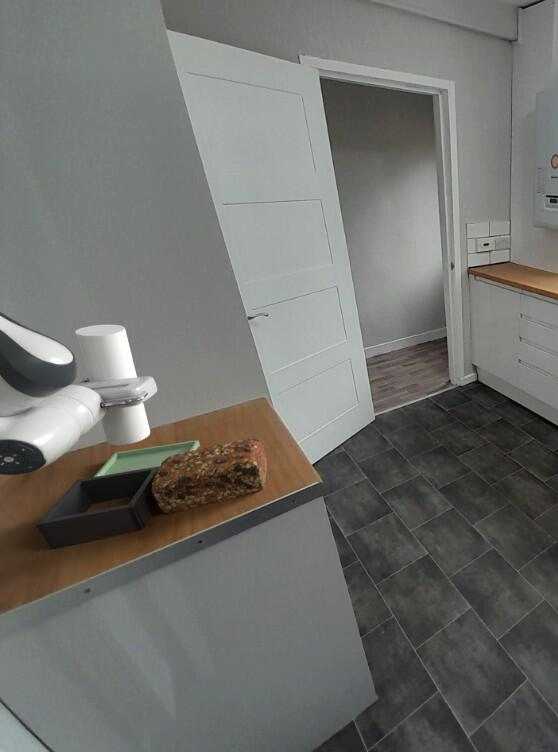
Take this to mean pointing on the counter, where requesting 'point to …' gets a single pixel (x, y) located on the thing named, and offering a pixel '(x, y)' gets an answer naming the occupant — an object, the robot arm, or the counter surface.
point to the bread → (210, 475)
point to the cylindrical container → (108, 362)
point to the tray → (144, 457)
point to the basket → (79, 526)
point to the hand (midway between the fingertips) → (108, 379)
